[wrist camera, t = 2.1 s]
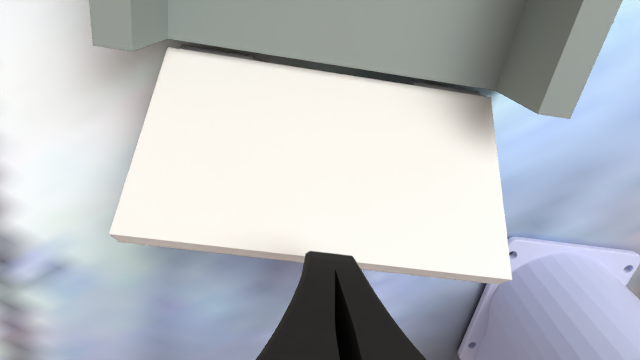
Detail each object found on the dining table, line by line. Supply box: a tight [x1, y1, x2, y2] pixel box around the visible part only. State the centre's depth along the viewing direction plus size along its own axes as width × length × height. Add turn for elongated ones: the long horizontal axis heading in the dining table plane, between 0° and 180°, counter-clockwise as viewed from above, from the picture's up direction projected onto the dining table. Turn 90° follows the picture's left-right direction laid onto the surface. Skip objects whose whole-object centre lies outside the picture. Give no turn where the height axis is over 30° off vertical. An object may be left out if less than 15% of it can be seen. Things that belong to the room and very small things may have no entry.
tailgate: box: [109, 45, 512, 284], centre depth 16 cm, size 8×14×1 cm
